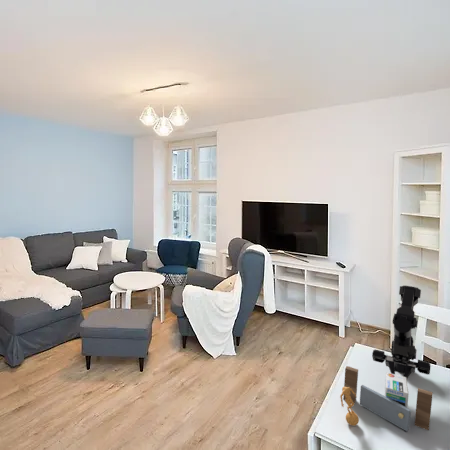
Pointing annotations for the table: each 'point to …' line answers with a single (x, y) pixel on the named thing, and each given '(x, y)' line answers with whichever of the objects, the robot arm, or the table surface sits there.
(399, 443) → the table surface
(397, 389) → the light bulb box
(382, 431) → the table surface
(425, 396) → the wooden fence posts
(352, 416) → the figurine
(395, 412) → the gate
